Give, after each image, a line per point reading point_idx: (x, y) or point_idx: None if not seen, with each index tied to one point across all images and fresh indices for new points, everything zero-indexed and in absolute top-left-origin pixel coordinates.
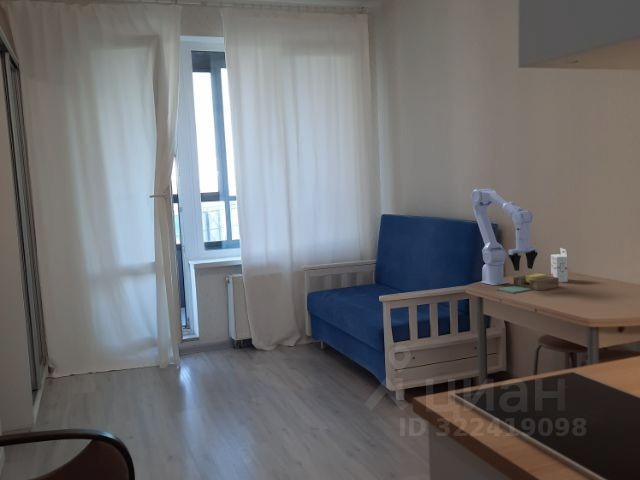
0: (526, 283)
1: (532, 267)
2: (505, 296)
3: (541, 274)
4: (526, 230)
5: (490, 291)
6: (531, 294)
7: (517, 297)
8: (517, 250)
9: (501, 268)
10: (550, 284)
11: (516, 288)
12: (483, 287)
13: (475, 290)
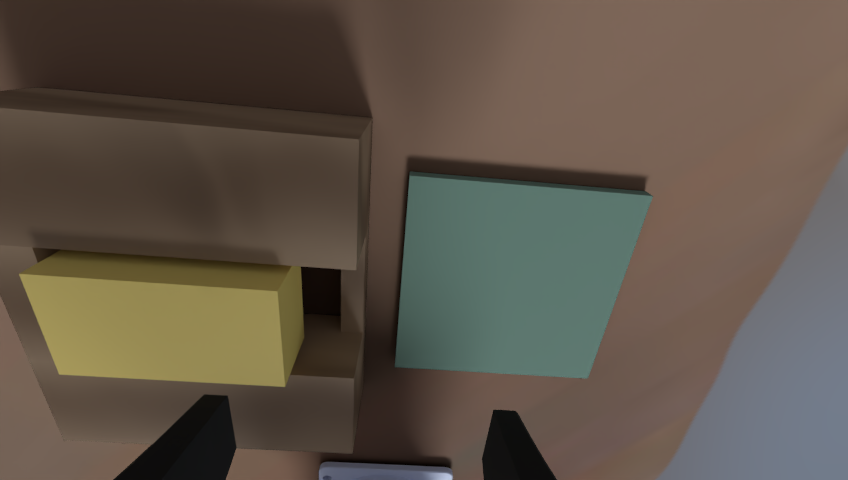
0: None
1: (193, 407)
2: (814, 146)
3: (72, 320)
4: None
5: (656, 366)
6: (587, 12)
7: (822, 12)
8: None
9: None
10: (140, 105)
11: (481, 283)
12: None
13: (675, 444)
